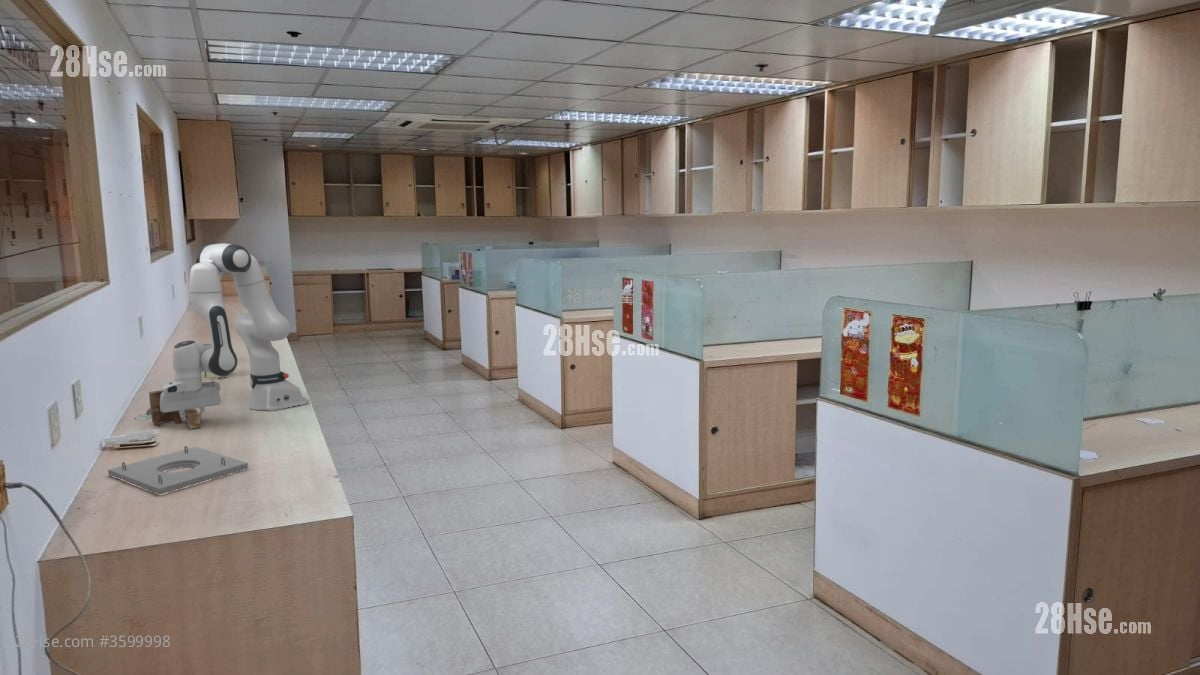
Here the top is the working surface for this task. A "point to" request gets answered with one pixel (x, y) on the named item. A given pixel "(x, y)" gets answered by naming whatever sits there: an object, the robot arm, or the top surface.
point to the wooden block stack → (158, 414)
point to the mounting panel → (159, 482)
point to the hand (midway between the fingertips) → (192, 419)
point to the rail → (192, 418)
